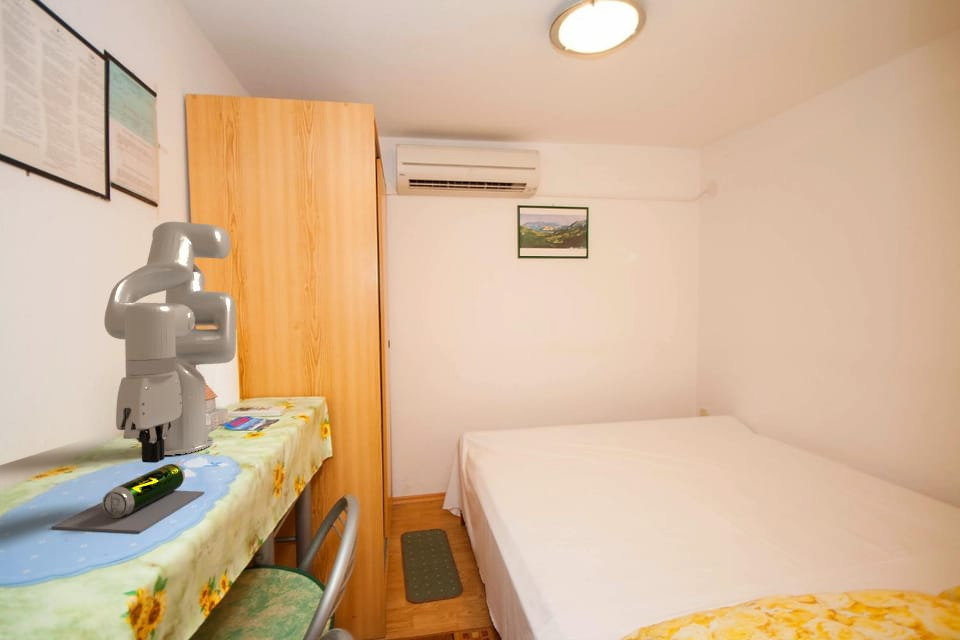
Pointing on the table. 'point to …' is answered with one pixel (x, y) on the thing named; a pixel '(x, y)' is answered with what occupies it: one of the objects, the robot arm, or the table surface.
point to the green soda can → (142, 490)
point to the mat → (133, 522)
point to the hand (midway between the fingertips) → (153, 460)
